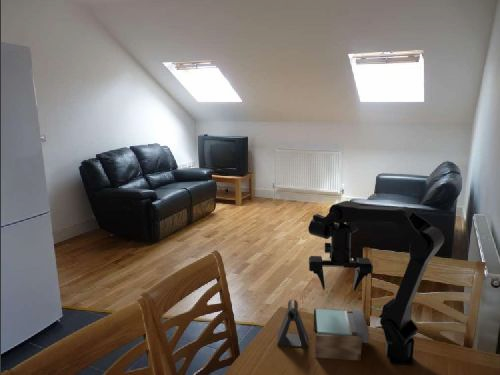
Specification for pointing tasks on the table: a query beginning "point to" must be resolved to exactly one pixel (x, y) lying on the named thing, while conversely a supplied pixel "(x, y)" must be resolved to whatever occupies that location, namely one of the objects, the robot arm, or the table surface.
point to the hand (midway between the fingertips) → (338, 289)
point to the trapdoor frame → (337, 344)
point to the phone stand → (283, 337)
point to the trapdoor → (342, 323)
